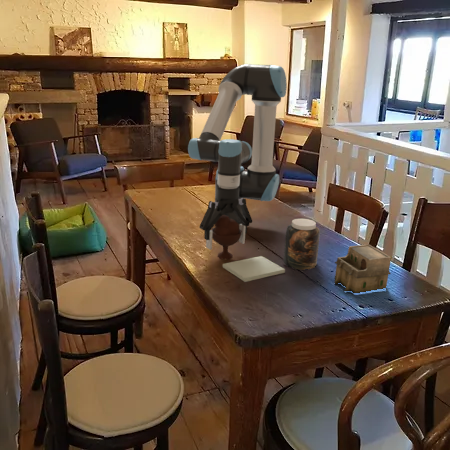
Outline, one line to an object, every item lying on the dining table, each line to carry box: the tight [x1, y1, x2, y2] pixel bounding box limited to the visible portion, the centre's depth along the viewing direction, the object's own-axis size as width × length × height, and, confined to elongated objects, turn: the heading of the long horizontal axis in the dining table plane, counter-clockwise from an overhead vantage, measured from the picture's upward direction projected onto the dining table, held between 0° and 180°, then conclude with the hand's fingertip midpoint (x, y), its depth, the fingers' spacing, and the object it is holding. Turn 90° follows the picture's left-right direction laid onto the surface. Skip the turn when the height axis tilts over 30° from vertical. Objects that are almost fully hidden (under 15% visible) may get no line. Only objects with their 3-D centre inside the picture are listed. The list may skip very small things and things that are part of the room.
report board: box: [222, 255, 286, 283], centre depth 164 cm, size 16×13×1 cm
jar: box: [283, 218, 321, 271], centre depth 169 cm, size 12×12×15 cm
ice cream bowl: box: [211, 215, 242, 260], centre depth 173 cm, size 11×11×15 cm
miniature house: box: [333, 244, 392, 293], centre depth 155 cm, size 15×14×11 cm
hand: (225, 245), depth 173 cm, fingers open, 13 cm apart
